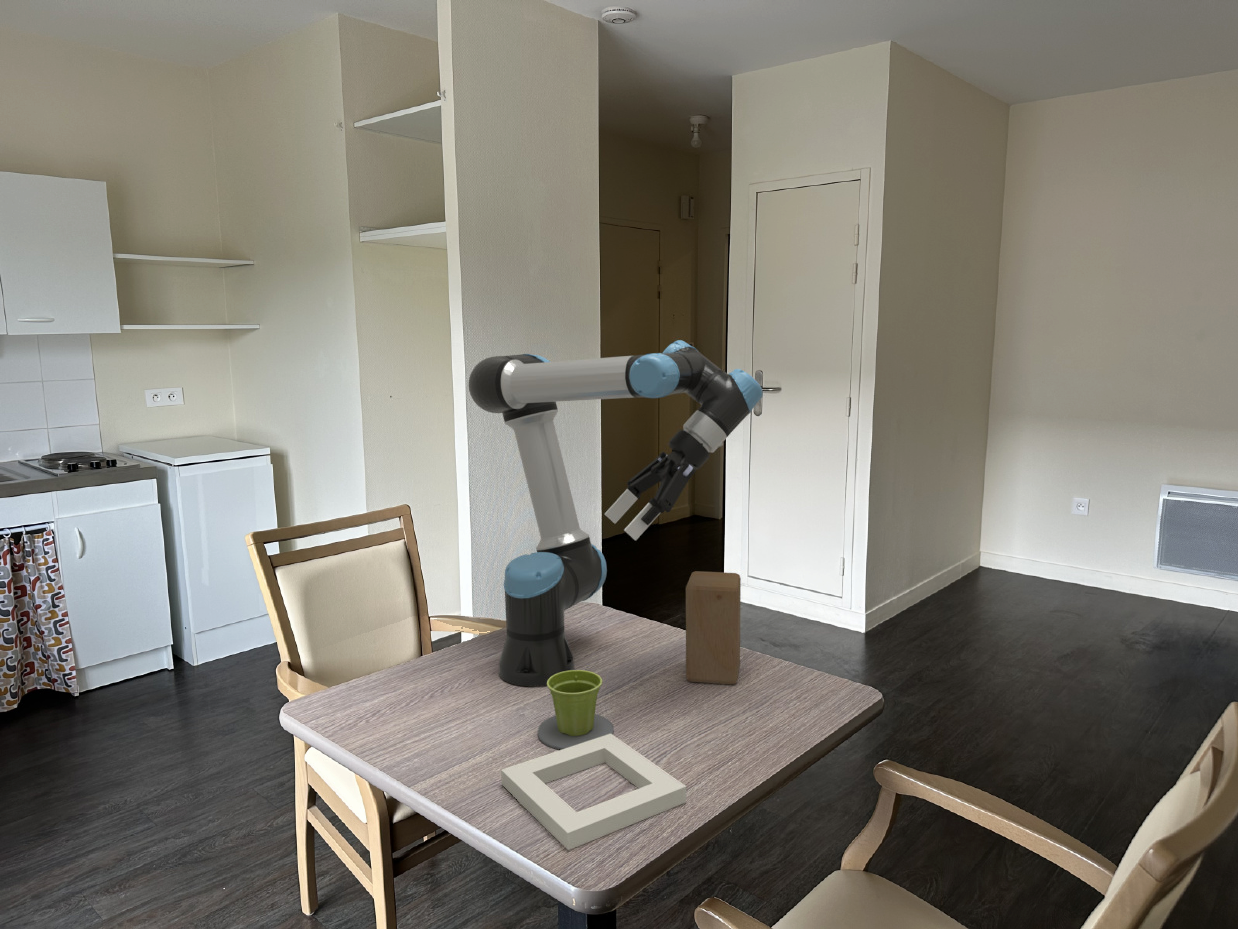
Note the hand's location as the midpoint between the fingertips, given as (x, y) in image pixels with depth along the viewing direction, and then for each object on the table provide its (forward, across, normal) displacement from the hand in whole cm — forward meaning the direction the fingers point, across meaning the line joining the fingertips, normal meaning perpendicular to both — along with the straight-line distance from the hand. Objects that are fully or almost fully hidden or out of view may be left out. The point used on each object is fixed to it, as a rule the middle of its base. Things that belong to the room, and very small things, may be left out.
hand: (619, 527), depth 154 cm
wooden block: (+9, +4, -38) cm, 39 cm away
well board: (+33, -32, -14) cm, 47 cm away
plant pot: (+31, -12, -15) cm, 36 cm away
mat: (+31, -12, -15) cm, 37 cm away
